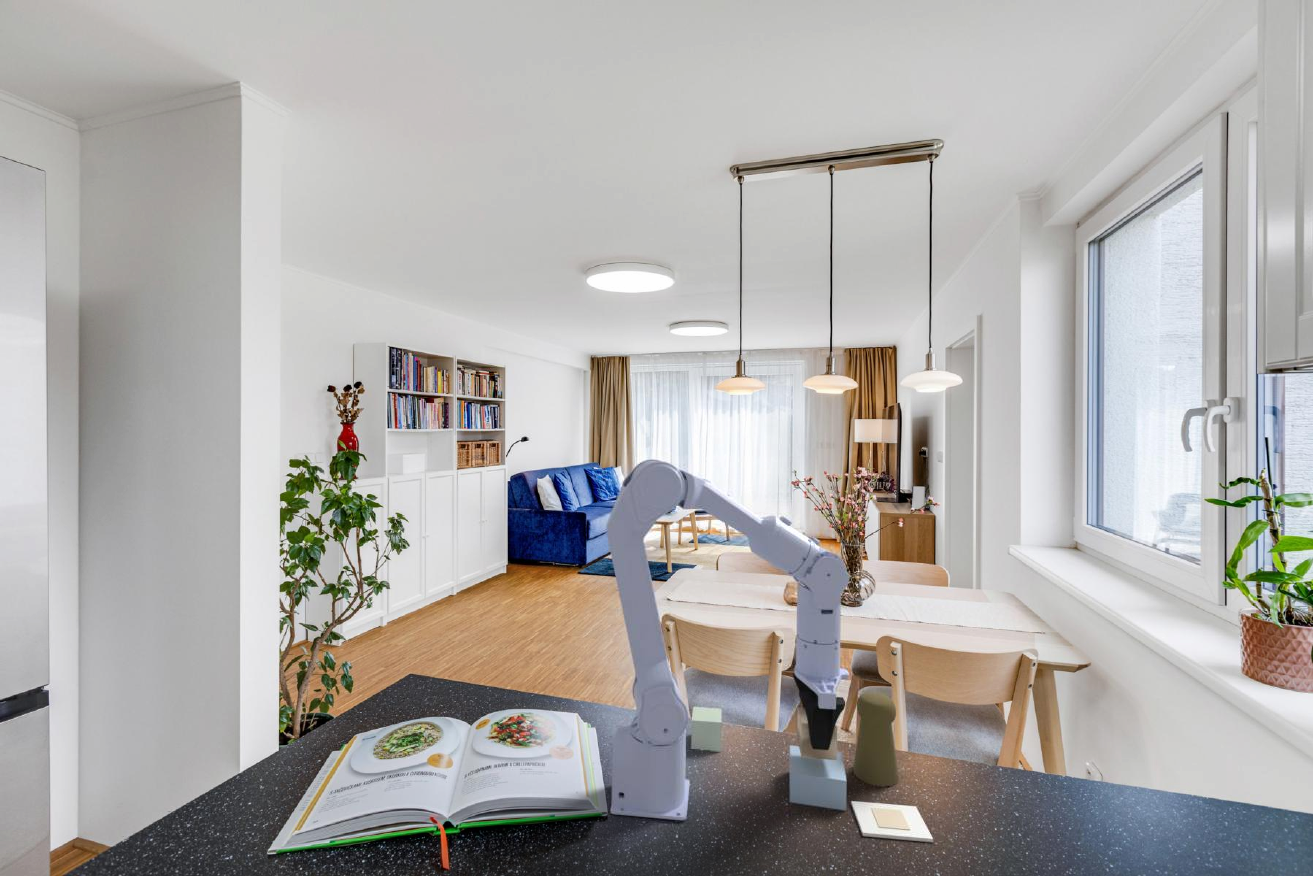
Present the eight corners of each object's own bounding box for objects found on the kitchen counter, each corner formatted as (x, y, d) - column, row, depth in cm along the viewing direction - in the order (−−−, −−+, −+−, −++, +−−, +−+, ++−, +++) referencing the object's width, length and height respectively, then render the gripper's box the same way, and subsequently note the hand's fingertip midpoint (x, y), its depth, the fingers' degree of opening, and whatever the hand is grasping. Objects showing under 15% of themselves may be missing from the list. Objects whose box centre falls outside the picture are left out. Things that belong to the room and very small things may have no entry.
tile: (862, 835, 67) (862, 831, 67) (851, 804, 73) (851, 800, 73) (933, 842, 66) (933, 838, 66) (915, 809, 72) (915, 805, 72)
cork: (903, 789, 77) (904, 708, 77) (856, 783, 78) (857, 703, 78) (893, 764, 83) (894, 689, 83) (850, 759, 84) (851, 685, 84)
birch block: (801, 757, 74) (801, 723, 74) (797, 739, 79) (797, 707, 79) (836, 760, 74) (837, 725, 74) (830, 742, 78) (830, 709, 78)
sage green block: (691, 750, 86) (691, 720, 86) (692, 735, 90) (693, 706, 90) (721, 752, 85) (721, 722, 85) (721, 737, 90) (721, 708, 90)
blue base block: (789, 803, 74) (790, 772, 74) (789, 773, 80) (789, 745, 80) (846, 812, 72) (846, 781, 72) (841, 780, 79) (841, 752, 79)
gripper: (862, 659, 69) (860, 771, 69) (837, 622, 83) (836, 714, 83) (802, 655, 70) (801, 766, 69) (788, 619, 84) (787, 711, 84)
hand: (816, 738), depth 76 cm, fingers closed on birch block, 4 cm apart
